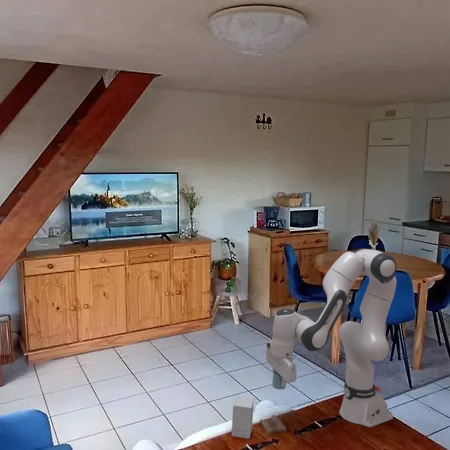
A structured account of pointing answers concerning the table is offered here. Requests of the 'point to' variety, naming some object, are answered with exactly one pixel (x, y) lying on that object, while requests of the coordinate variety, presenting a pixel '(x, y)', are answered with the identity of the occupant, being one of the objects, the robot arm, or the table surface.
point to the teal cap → (277, 381)
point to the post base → (273, 425)
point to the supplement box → (242, 417)
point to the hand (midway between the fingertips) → (279, 382)
